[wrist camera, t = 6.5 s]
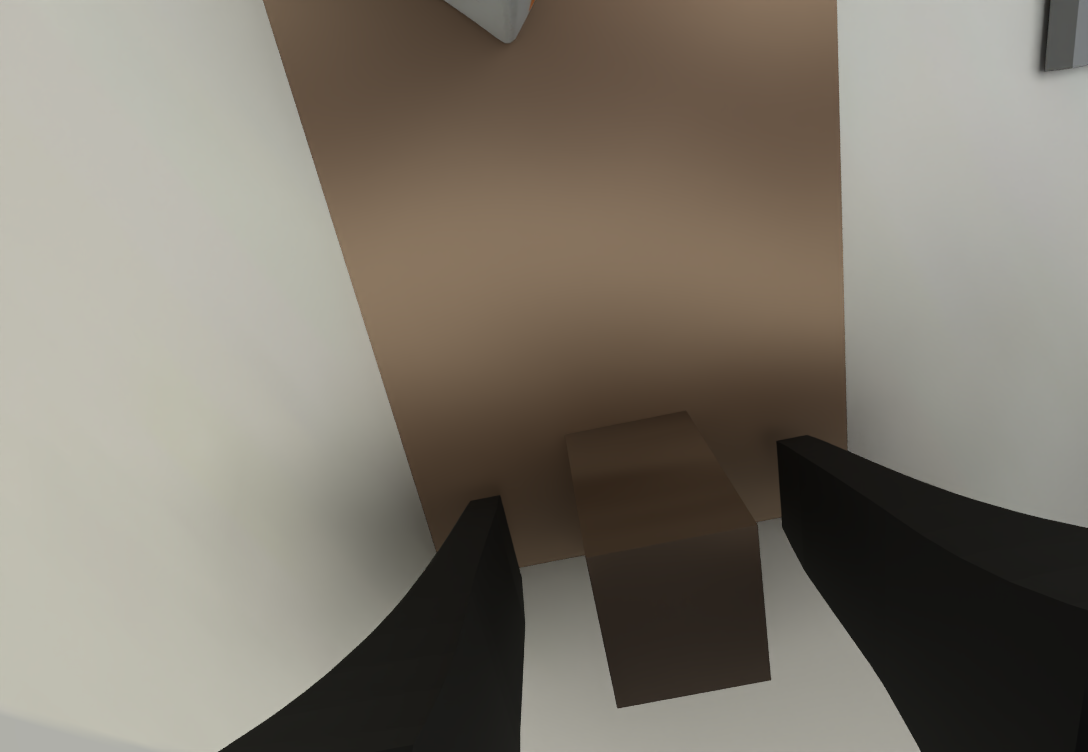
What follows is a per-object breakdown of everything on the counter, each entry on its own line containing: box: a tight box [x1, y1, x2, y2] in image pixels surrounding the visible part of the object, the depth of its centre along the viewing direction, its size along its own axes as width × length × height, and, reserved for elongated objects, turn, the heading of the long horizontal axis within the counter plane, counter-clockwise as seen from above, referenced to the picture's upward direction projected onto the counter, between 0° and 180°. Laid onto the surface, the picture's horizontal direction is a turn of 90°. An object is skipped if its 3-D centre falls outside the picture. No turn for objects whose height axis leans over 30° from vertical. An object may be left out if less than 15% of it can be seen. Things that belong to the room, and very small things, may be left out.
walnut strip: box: [263, 0, 847, 708], centre depth 9 cm, size 18×9×5 cm, turn 11°
